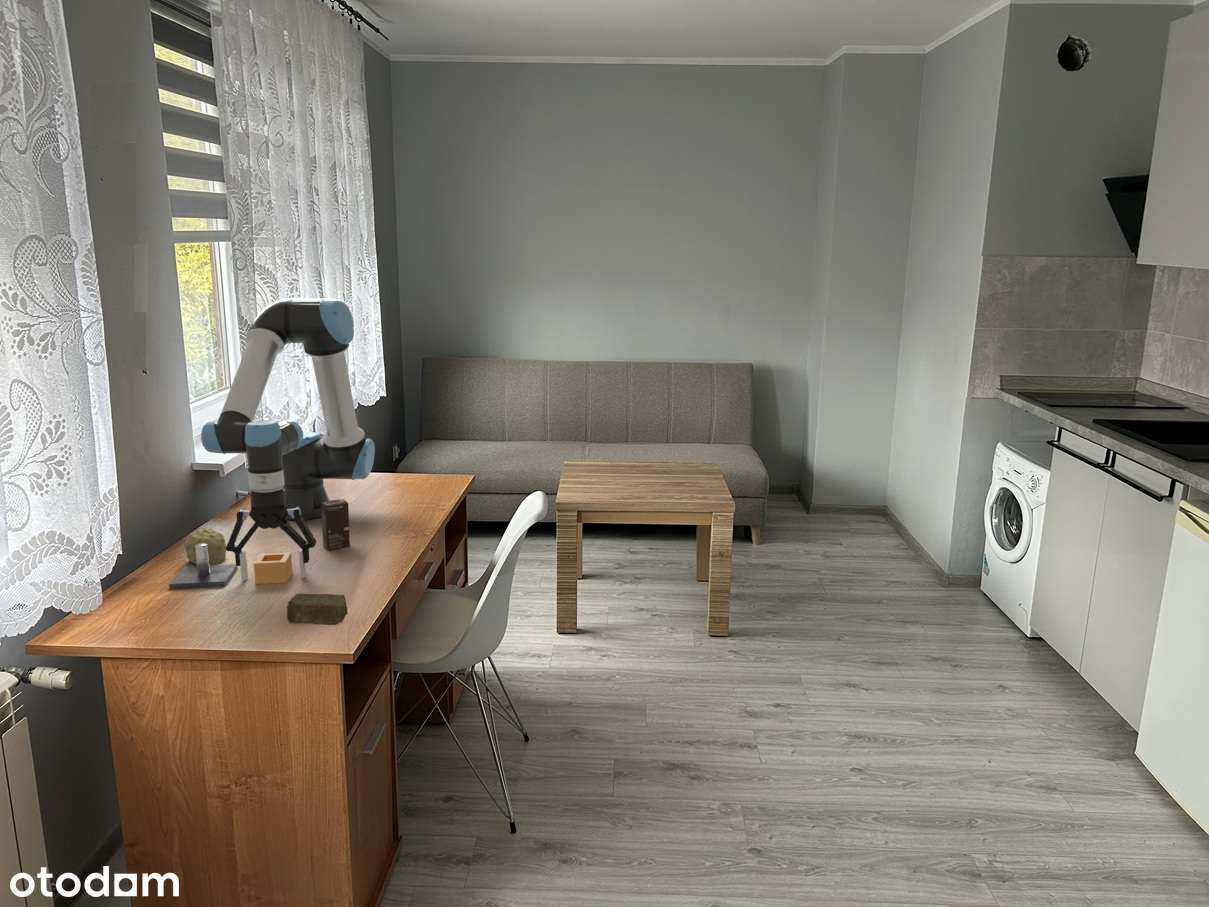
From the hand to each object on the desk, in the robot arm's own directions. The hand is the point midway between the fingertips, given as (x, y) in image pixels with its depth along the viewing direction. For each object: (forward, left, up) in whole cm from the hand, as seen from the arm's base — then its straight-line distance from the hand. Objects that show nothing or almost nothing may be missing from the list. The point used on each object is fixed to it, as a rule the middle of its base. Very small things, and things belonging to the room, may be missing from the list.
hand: (274, 577), depth 215 cm
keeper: (-2, -16, 0) cm, 16 cm away
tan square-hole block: (0, 0, 0) cm, 0 cm away
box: (-22, +11, 0) cm, 25 cm away
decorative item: (-16, -19, -1) cm, 25 cm away
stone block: (+26, +14, -1) cm, 30 cm away
